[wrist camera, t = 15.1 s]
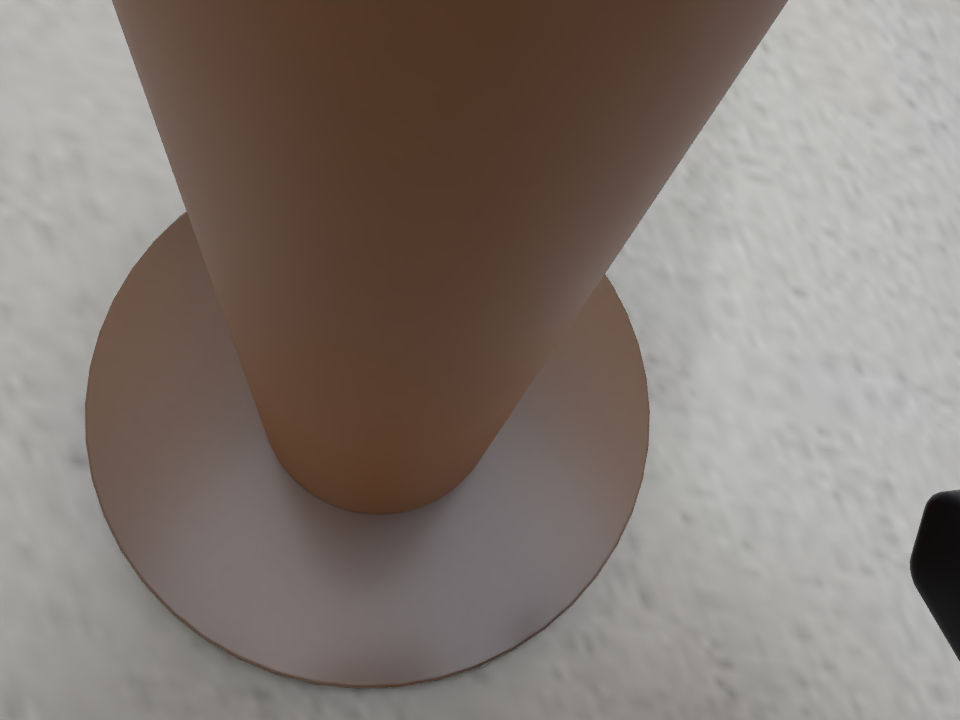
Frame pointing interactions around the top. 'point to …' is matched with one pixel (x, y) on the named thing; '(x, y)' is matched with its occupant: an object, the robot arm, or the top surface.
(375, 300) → the orange cylinder
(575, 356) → the round brown plate
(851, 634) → the top surface
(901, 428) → the top surface
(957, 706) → the top surface
